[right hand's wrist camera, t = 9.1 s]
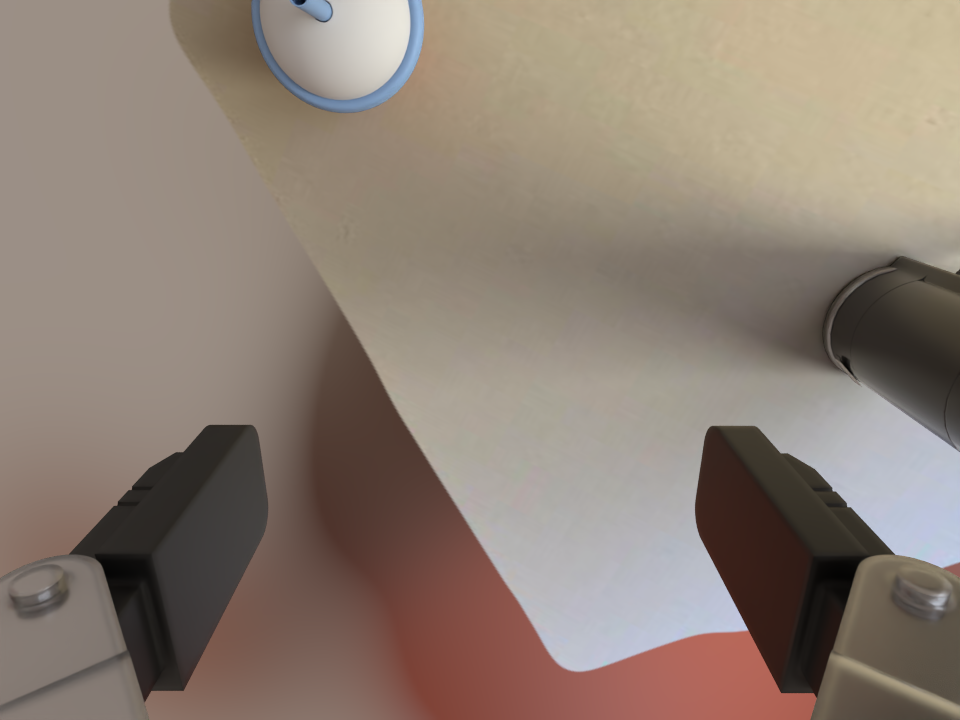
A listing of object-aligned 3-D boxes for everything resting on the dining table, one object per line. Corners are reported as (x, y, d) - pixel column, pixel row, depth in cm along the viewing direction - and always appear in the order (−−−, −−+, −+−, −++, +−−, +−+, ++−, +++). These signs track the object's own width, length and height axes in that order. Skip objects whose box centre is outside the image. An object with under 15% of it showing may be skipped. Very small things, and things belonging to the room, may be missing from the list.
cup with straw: (275, 44, 43) (143, -1, 26) (360, -70, 40) (275, -201, 24) (377, 141, 45) (316, 157, 28) (463, 38, 43) (452, -10, 26)
